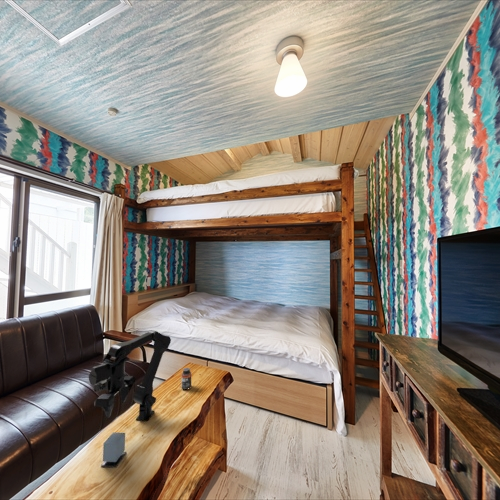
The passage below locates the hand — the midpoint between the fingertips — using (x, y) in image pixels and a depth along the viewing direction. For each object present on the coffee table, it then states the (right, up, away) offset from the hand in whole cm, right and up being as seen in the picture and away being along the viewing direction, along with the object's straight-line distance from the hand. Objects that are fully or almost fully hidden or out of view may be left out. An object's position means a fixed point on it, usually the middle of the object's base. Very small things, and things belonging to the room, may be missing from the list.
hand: (115, 409), depth 94 cm
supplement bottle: (+20, -15, +37) cm, 45 cm away
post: (+6, -11, -11) cm, 17 cm away
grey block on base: (+6, -10, -11) cm, 16 cm away
